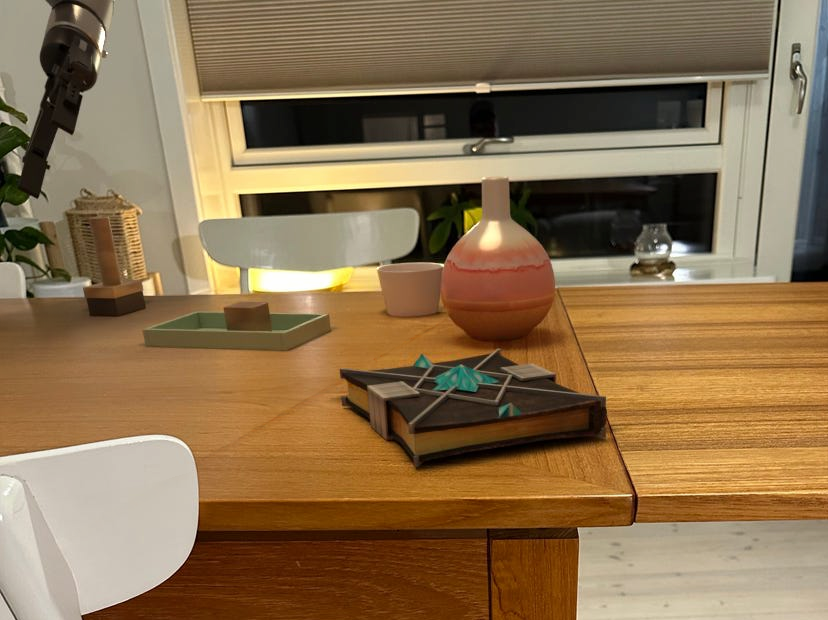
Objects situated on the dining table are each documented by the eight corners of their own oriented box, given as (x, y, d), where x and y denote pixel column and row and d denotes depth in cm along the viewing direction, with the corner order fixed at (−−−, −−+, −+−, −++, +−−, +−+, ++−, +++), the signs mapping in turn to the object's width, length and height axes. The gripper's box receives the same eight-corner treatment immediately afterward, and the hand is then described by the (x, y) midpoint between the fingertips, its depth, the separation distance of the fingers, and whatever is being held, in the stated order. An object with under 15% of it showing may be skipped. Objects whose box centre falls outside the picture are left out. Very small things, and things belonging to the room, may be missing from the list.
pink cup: (393, 324, 126) (389, 274, 123) (371, 314, 134) (367, 266, 131) (455, 317, 129) (453, 267, 126) (431, 307, 137) (428, 260, 134)
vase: (577, 339, 114) (579, 175, 105) (477, 354, 108) (471, 183, 100) (517, 322, 124) (515, 172, 116) (424, 336, 119) (414, 179, 110)
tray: (146, 351, 117) (142, 329, 115) (199, 331, 127) (196, 311, 126) (287, 355, 111) (284, 332, 110) (331, 334, 122) (329, 313, 120)
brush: (88, 315, 141) (67, 220, 135) (118, 307, 147) (99, 215, 141) (118, 316, 140) (98, 219, 133) (147, 307, 146) (129, 215, 139)
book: (608, 439, 78) (609, 378, 76) (413, 471, 73) (409, 406, 70) (502, 384, 96) (500, 332, 94) (339, 406, 91) (333, 352, 88)
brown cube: (228, 341, 117) (223, 307, 115) (244, 334, 121) (239, 301, 119) (257, 342, 116) (252, 307, 114) (272, 335, 120) (268, 302, 118)
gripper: (133, 1, 128) (108, 115, 120) (68, 124, 145) (42, 230, 137) (77, -37, 123) (47, 78, 115) (17, 94, 141) (-13, 202, 133)
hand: (44, 161), depth 126 cm, fingers open, 13 cm apart
